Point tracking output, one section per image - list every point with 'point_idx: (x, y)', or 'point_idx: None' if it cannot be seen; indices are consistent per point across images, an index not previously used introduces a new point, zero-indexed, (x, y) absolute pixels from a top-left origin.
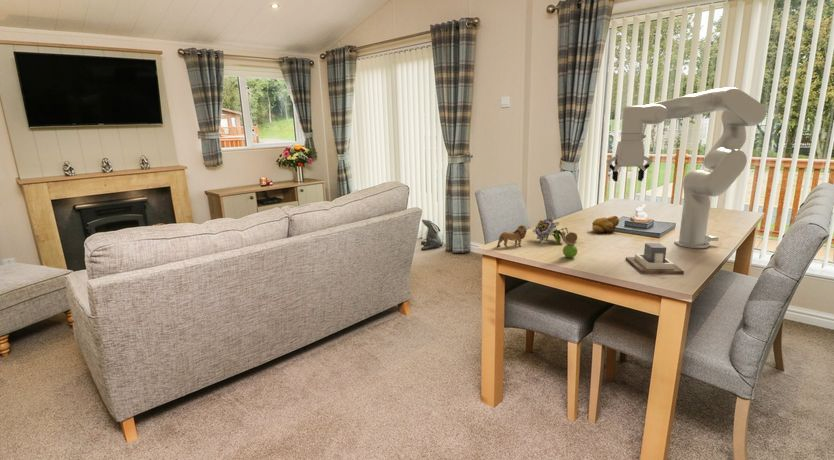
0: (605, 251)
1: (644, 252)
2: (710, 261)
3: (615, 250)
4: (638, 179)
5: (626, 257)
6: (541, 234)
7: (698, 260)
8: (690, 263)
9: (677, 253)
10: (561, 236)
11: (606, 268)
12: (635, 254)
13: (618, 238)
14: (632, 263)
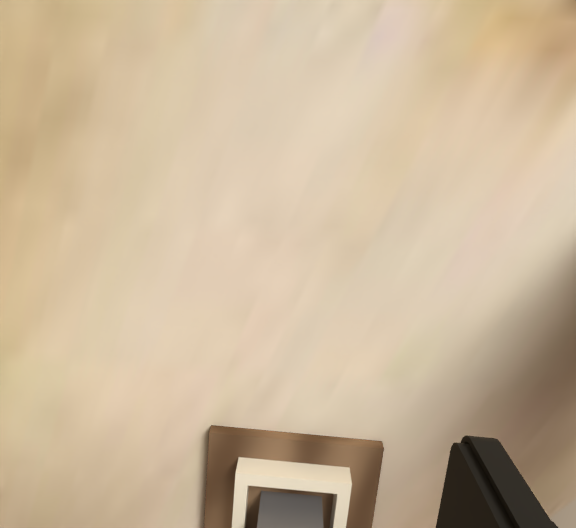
0: (162, 292)
1: (257, 525)
2: (573, 473)
3: (221, 278)
4: (449, 486)
5: (209, 438)
6: None
7: (531, 457)
8: None
9: (509, 350)
10: None
11: (88, 524)
12: (235, 477)
13: (347, 6)
14: (205, 505)
